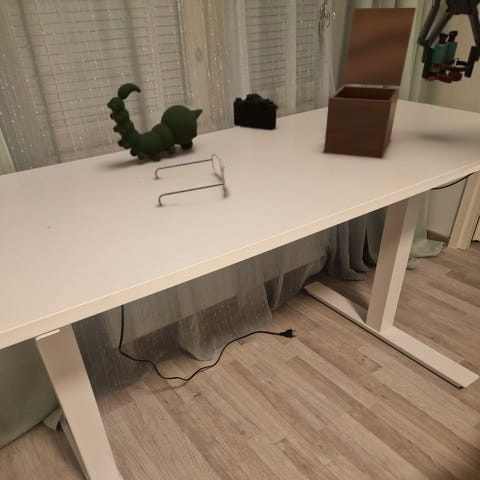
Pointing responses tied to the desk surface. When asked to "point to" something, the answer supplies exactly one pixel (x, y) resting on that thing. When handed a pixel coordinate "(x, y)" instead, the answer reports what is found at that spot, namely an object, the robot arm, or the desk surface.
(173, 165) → the eyeglasses
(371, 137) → the chest
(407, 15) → the lid
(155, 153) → the toy figurine
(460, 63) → the binoculars
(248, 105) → the film camera
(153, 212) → the desk surface
